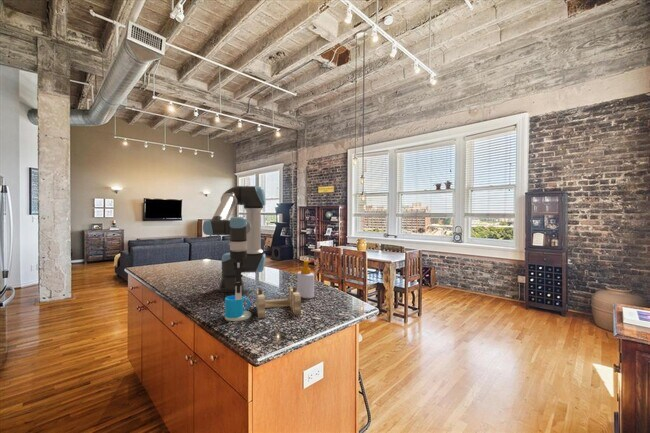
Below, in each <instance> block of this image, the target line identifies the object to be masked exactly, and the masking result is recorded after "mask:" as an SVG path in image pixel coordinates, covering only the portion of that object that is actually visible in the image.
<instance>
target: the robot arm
mask: <svg viewBox="0 0 650 433" xmlns="http://www.w3.org/2000/svg"><path fill="white" fill-rule="evenodd" d="M266 202H267V201H266V194H265V190H264V188H263V186H256V185H252V186H251V185H250V186H249V185H247V186H246V185H237V186H235V185H234V186H233V187H230V188H229V189H227V190H226V191H224V192H223V194H222V195H221V196H220V203H219V205H218V207H217V208H216V210H215V211H214V214H213V216H212V218H211V219H205V220H204V221H203V223H202V231H203V234H204V235H206V236H229V242H228V246H229V249H230V251H229V252H226V253H224V254H222V256H221V279H220V282H219V284H218V291H219V292H221V293H234V295H235V300H242V296H243V295H242V294H243V293H242V292H243V290H244V289H245V284H244V282H243V273H244V274H245V273H255V274H256V273H262V272H263V271H264V270H265V265H266V260H267V259H266V257H267V256H266V253H264V249H262V246H261V244H262V240H261V238H262V233H261V232H262V229H261V226H262V224H261V222H262V220H261V218H262V216H261V215H262V214H261V211H262V210H263V209H264V206H266V204H267V203H266ZM236 206H243V209H244V210H245V211H246V217H244V216H232V217H230V216H231V214H232V211H233V209H234V208H235V207H236ZM229 218H230V219H229Z"/></svg>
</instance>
